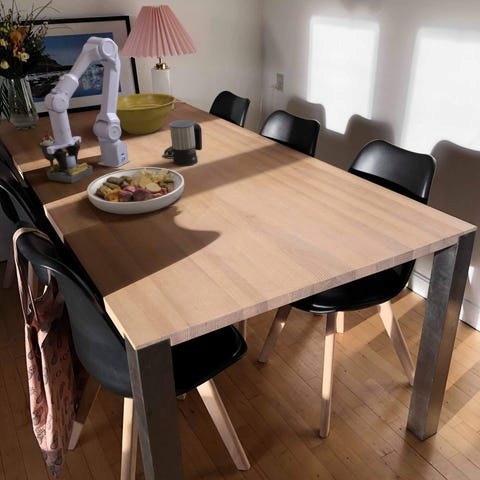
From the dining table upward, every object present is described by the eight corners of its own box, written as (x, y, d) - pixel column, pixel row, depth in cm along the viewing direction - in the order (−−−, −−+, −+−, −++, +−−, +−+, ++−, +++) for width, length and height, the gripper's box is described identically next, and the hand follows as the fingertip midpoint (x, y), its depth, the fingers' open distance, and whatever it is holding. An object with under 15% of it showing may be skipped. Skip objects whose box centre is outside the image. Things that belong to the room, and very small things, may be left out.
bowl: (85, 189, 170) (80, 167, 166) (172, 175, 178) (170, 154, 175) (95, 226, 145) (90, 201, 141) (196, 207, 153) (194, 183, 150)
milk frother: (191, 167, 184) (187, 127, 177) (152, 164, 189) (147, 124, 182) (206, 155, 196) (203, 117, 189) (169, 152, 201) (165, 114, 194)
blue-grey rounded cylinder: (80, 172, 181) (77, 155, 178) (72, 176, 178) (69, 159, 175) (70, 170, 183) (67, 154, 180) (62, 174, 179) (59, 158, 176)
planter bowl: (117, 121, 245) (112, 93, 239) (183, 120, 243) (180, 91, 237) (98, 142, 217) (92, 110, 210) (172, 140, 215) (169, 108, 209)
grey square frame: (93, 172, 183) (91, 162, 181) (72, 183, 174) (69, 172, 173) (69, 168, 187) (67, 158, 186) (48, 179, 179) (45, 168, 177)
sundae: (57, 173, 184) (48, 132, 177) (40, 172, 185) (31, 132, 178) (66, 167, 190) (57, 127, 183) (49, 166, 191) (41, 127, 184)
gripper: (55, 136, 166) (63, 175, 172) (84, 124, 177) (91, 162, 184) (39, 134, 169) (47, 173, 175) (69, 123, 180) (76, 159, 186)
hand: (69, 167), depth 179 cm, fingers closed on blue-grey rounded cylinder, 4 cm apart
